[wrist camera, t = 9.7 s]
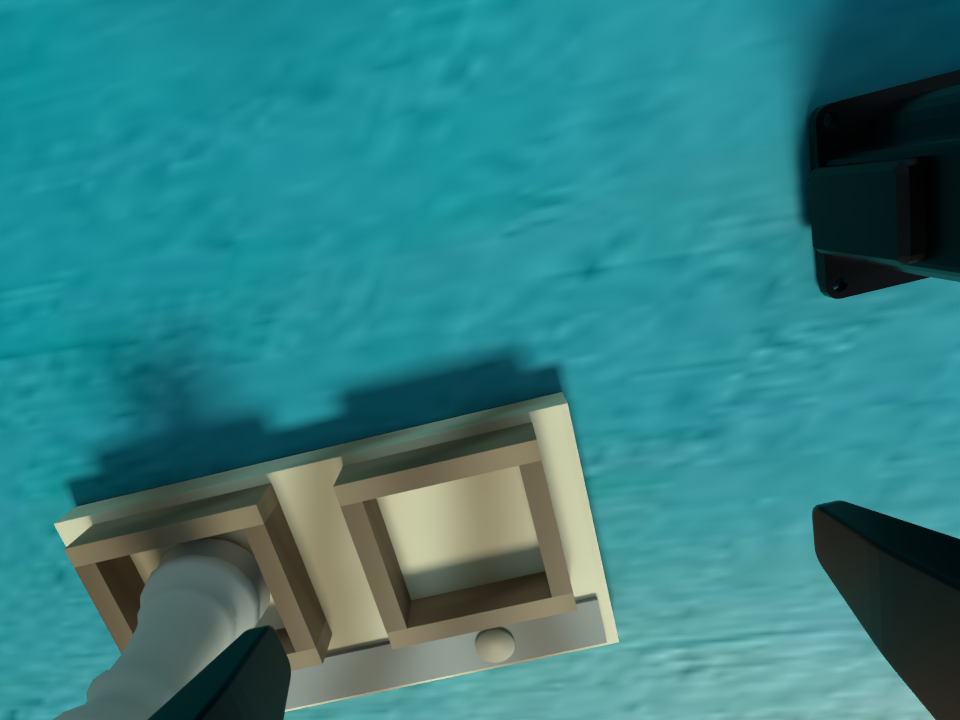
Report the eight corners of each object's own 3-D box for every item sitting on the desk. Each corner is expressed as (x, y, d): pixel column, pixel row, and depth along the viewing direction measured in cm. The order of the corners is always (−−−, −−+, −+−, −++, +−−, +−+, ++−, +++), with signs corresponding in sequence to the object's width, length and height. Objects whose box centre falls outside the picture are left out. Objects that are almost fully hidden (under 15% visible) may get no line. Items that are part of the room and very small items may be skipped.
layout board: (562, 391, 21) (575, 419, 18) (611, 620, 24) (629, 672, 21) (75, 506, 22) (22, 548, 19) (183, 710, 25) (150, 770, 22)
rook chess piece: (139, 583, 21) (-48, 798, 14) (202, 509, 20) (41, 694, 13) (233, 643, 22) (108, 876, 15) (298, 575, 21) (200, 785, 14)
